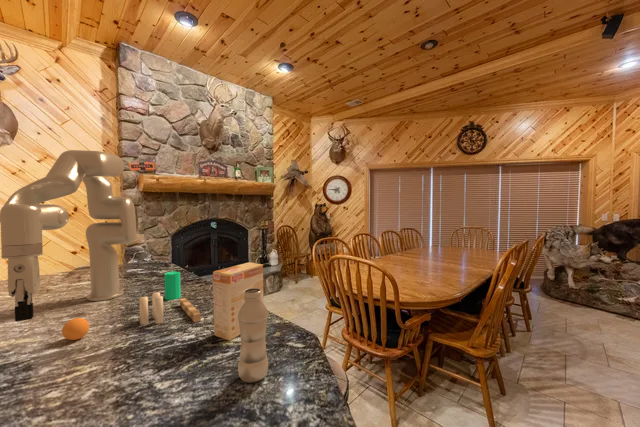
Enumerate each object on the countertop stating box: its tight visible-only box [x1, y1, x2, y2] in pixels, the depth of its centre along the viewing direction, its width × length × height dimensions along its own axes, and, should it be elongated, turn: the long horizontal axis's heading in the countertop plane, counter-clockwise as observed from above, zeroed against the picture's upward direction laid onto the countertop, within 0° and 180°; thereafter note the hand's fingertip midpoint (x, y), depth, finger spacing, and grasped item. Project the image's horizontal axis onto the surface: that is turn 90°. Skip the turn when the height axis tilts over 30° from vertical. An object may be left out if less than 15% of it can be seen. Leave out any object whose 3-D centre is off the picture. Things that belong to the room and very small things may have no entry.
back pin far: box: [151, 291, 161, 320], centre depth 97 cm, size 2×2×8 cm
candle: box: [163, 270, 182, 301], centre depth 118 cm, size 6×6×12 cm
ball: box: [61, 317, 90, 341], centre depth 82 cm, size 6×6×6 cm
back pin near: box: [154, 295, 165, 325], centre depth 93 cm, size 2×2×8 cm
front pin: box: [138, 296, 150, 325], centre depth 93 cm, size 2×2×8 cm
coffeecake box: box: [212, 262, 265, 341], centre depth 88 cm, size 15×7×20 cm, turn 149°
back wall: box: [179, 297, 201, 323], centre depth 102 cm, size 20×2×2 cm, turn 39°
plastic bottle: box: [237, 288, 269, 384], centre depth 63 cm, size 6×7×20 cm
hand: (24, 319), depth 75 cm, fingers closed
